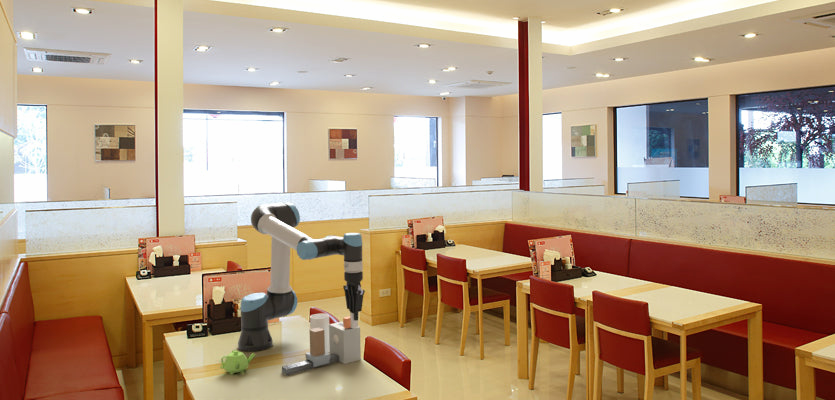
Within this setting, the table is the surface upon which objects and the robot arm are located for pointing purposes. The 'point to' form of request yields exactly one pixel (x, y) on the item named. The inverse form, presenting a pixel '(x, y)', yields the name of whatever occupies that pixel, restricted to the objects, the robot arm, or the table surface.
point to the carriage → (317, 348)
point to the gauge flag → (347, 322)
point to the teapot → (236, 362)
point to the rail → (306, 365)
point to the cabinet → (345, 342)
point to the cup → (321, 326)
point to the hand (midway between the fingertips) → (354, 327)
